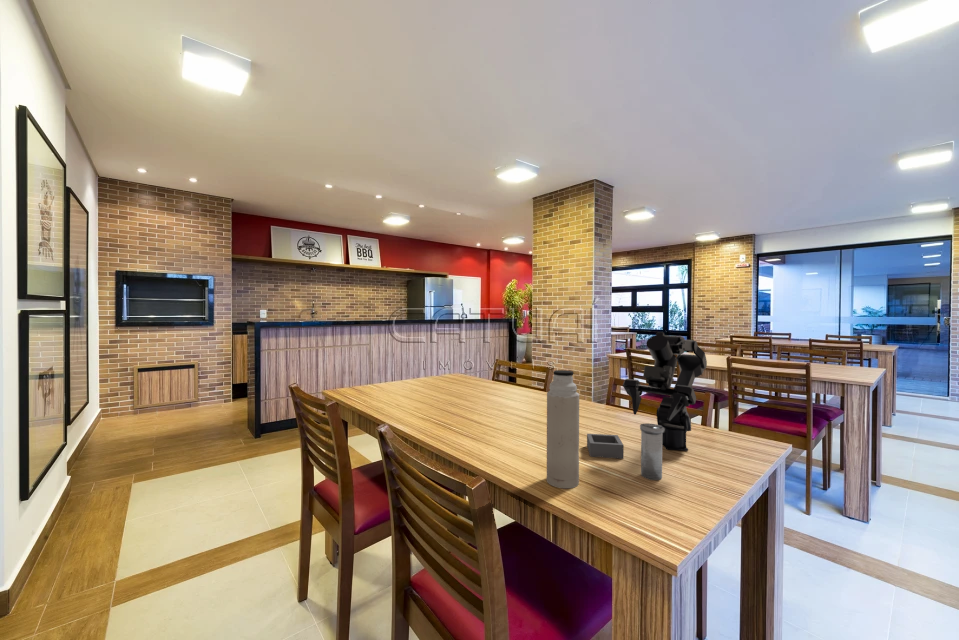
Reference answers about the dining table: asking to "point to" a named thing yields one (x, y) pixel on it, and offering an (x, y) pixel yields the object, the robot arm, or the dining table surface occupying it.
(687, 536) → the dining table surface
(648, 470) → the pipe
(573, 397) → the thermos bottle
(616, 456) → the gray square tray
